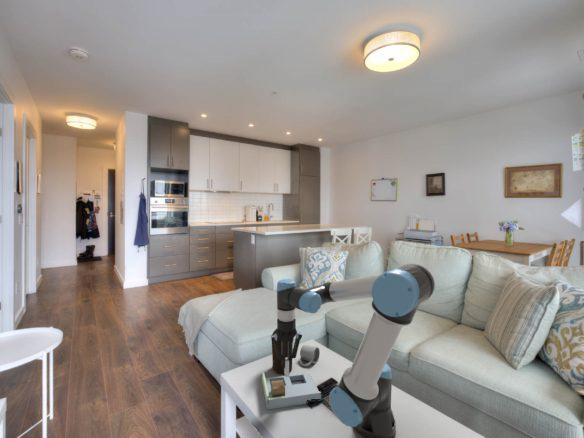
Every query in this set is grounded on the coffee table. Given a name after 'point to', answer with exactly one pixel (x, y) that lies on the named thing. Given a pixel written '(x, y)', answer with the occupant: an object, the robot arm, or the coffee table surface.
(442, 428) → the coffee table surface
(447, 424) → the coffee table surface
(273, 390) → the brown block
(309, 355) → the ceramic mug
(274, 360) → the olive oil
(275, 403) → the board
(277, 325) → the robot arm
